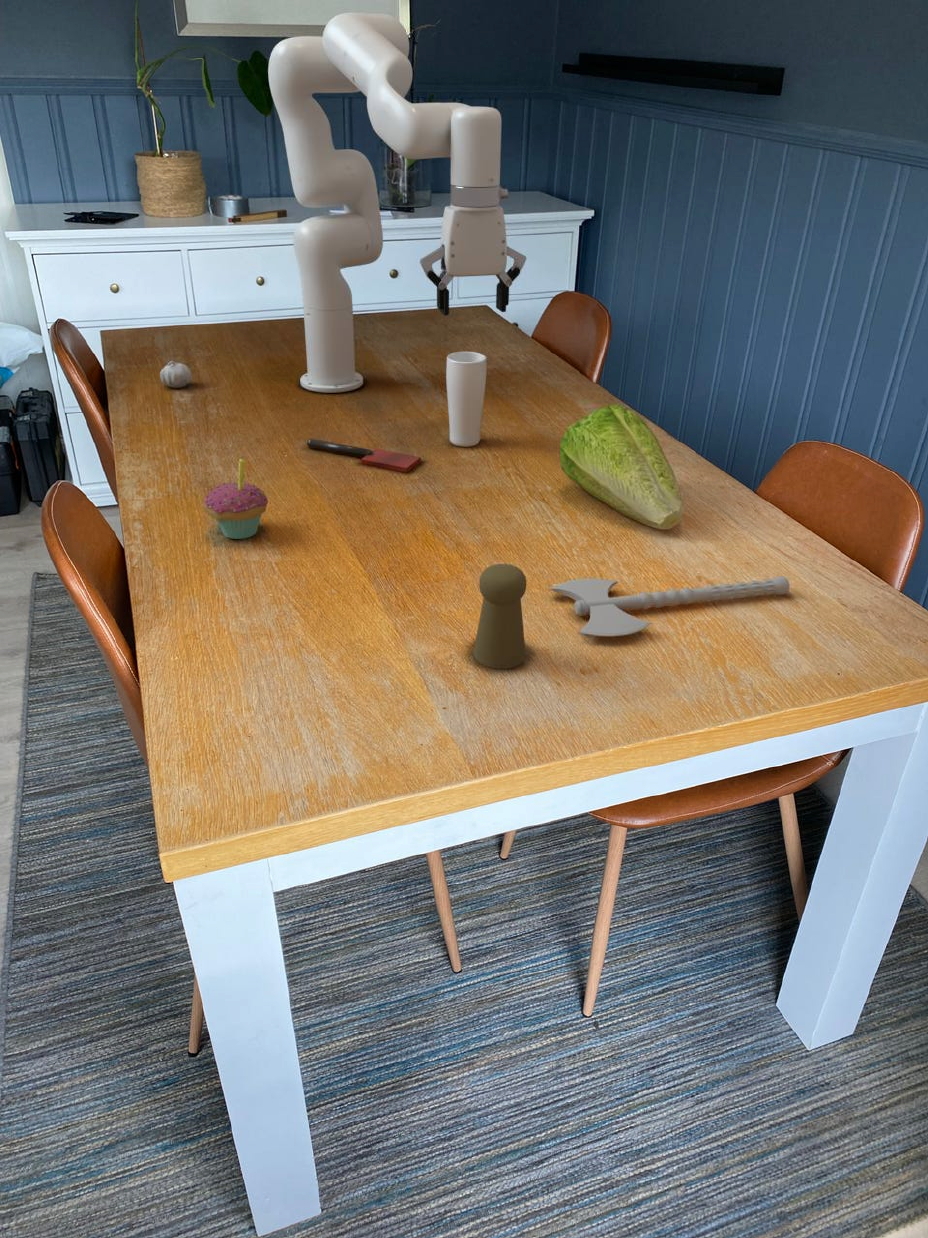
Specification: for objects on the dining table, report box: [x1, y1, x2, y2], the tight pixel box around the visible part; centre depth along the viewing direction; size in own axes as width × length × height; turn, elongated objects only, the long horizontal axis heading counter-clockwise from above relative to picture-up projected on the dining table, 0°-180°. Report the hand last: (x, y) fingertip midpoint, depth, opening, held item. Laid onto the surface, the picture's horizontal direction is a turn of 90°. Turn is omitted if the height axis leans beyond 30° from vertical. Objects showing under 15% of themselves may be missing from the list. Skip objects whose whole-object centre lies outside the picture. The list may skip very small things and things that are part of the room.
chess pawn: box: [472, 563, 527, 670], centre depth 107 cm, size 6×6×11 cm
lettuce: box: [559, 403, 684, 531], centre depth 142 cm, size 14×23×14 cm
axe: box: [549, 575, 790, 637], centre depth 119 cm, size 30×14×2 cm, turn 104°
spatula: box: [306, 438, 422, 474], centre depth 160 cm, size 20×5×2 cm, turn 66°
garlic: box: [159, 360, 192, 389], centre depth 188 cm, size 6×5×5 cm
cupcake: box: [203, 454, 269, 540], centre depth 132 cm, size 9×8×12 cm
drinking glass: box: [445, 351, 487, 448], centre depth 163 cm, size 7×7×15 cm
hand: (472, 311), depth 155 cm, fingers open, 9 cm apart
